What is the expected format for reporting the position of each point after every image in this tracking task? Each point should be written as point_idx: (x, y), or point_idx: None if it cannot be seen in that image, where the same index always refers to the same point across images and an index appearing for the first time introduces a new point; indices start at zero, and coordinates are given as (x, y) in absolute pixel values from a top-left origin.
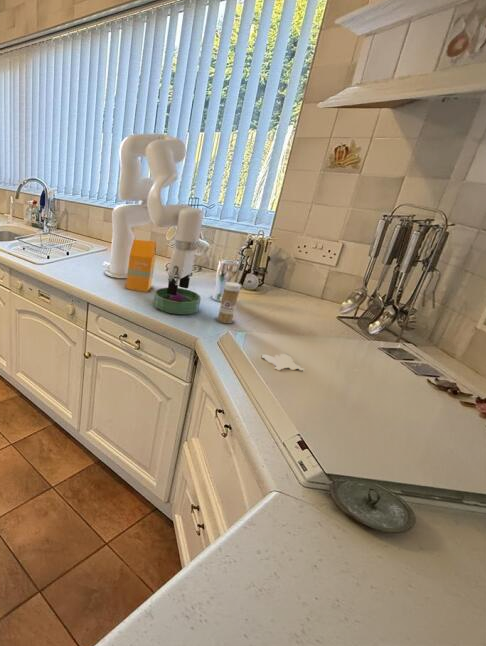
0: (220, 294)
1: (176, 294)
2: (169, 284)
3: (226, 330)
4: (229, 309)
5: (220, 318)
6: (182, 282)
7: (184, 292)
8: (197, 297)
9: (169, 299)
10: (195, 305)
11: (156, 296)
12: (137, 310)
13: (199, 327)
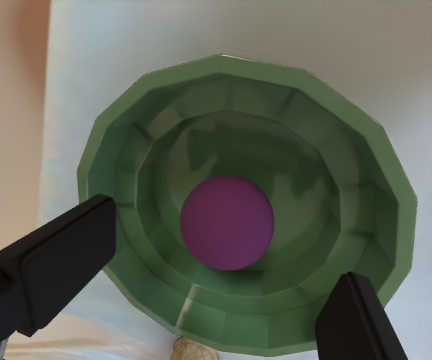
0: None
1: (107, 259)
2: (14, 254)
3: (129, 342)
4: None
5: (174, 351)
6: (346, 341)
7: (370, 269)
8: (276, 334)
9: (204, 181)
10: (176, 307)
11: (120, 102)
12: (69, 17)
13: (96, 282)
